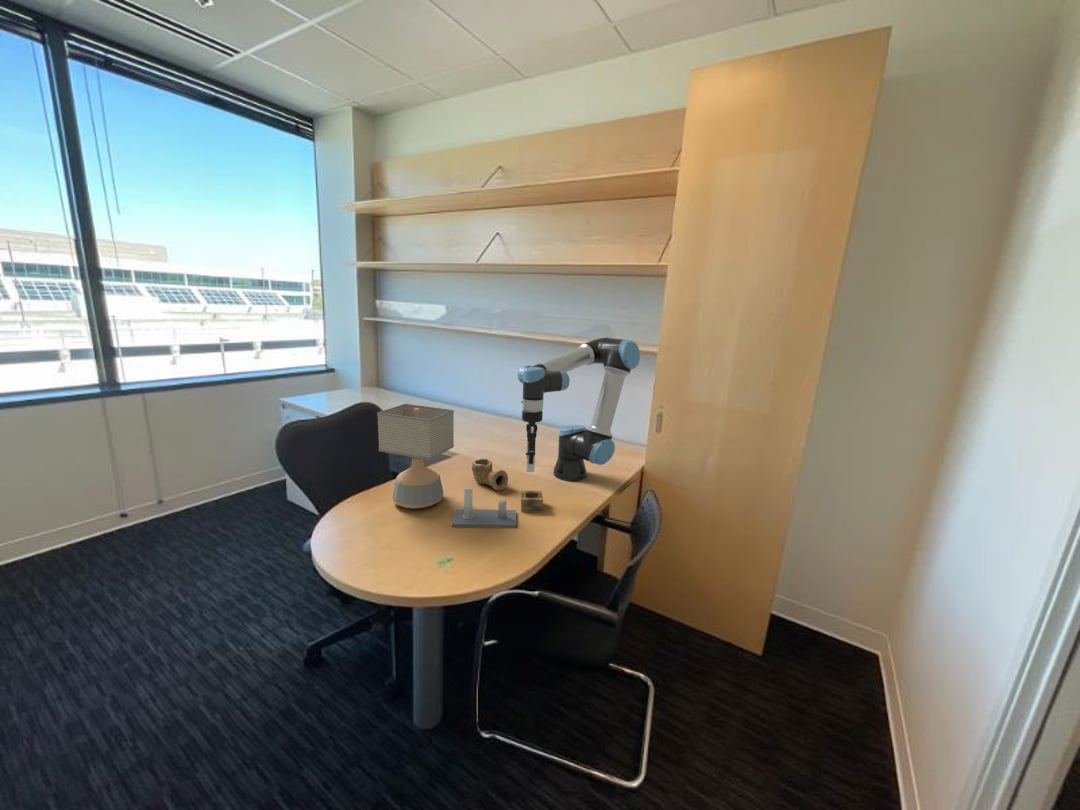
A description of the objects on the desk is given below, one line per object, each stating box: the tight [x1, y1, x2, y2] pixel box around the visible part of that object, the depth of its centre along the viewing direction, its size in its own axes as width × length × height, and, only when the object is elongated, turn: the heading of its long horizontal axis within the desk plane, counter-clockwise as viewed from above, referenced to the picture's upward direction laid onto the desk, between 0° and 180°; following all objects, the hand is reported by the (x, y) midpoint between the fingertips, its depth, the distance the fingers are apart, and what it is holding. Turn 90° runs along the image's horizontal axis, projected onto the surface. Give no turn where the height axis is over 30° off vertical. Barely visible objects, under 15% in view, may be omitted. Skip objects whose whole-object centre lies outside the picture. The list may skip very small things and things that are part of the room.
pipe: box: [471, 458, 509, 491], centre depth 182 cm, size 9×16×10 cm, turn 52°
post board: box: [451, 488, 517, 528], centre depth 153 cm, size 22×11×11 cm, turn 93°
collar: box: [520, 490, 544, 513], centre depth 164 cm, size 8×8×5 cm
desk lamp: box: [376, 403, 455, 510], centre depth 162 cm, size 22×19×37 cm
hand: (530, 464), depth 162 cm, fingers open, 13 cm apart
